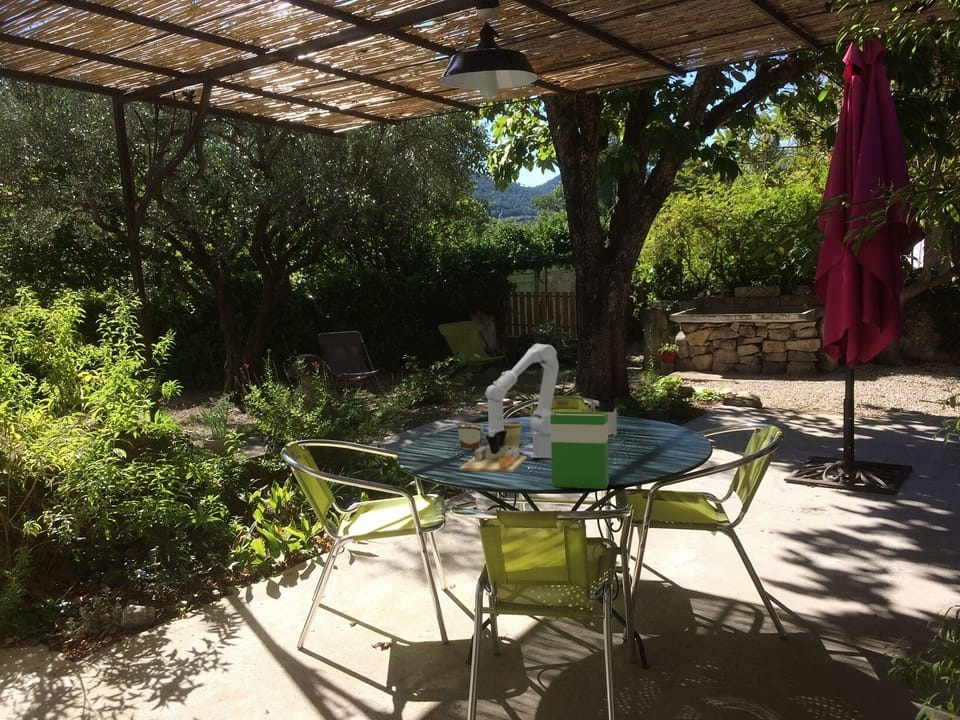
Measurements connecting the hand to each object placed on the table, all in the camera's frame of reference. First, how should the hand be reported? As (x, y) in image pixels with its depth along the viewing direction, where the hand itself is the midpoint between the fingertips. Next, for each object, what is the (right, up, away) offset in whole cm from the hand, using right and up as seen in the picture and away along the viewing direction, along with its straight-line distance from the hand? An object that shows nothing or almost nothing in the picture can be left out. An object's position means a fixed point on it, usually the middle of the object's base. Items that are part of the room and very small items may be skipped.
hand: (497, 451), depth 290 cm
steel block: (0, -3, 0) cm, 3 cm away
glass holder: (+48, +2, +48) cm, 68 cm away
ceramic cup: (+7, -1, +30) cm, 30 cm away
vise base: (-1, -4, -4) cm, 6 cm away
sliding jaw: (+5, -3, -6) cm, 8 cm away
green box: (+27, -7, -39) cm, 48 cm away
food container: (-9, -2, +28) cm, 30 cm away
